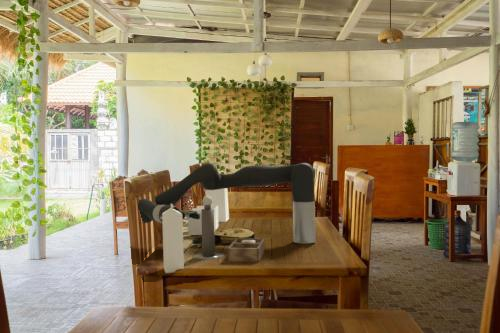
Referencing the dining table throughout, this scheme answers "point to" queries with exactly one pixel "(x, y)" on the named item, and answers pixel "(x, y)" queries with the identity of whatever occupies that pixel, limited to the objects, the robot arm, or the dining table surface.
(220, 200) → the milk
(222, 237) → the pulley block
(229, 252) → the caddy
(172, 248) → the milk
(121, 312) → the dining table surface
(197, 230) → the storage container
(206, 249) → the pepper mill
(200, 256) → the disc
